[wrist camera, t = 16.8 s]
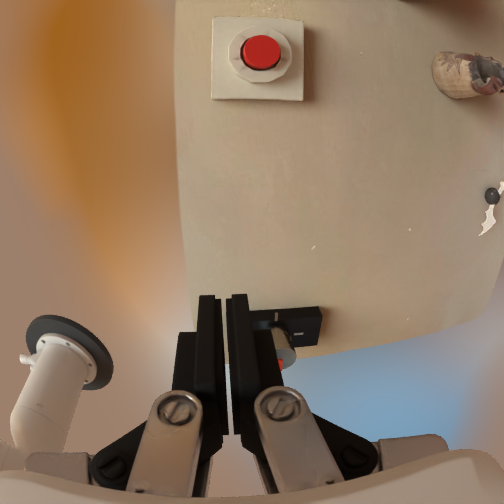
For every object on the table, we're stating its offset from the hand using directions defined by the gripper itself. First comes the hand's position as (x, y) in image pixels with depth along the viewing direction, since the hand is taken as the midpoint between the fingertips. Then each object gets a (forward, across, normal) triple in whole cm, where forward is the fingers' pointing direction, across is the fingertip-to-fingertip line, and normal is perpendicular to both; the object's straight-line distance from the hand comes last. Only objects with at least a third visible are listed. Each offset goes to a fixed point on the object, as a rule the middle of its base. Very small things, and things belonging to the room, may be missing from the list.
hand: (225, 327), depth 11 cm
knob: (+25, -7, +23) cm, 34 cm away
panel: (+27, -7, +23) cm, 36 cm away
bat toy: (+27, -45, +1) cm, 52 cm away
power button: (+24, -4, -14) cm, 28 cm away
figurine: (+27, -32, -17) cm, 45 cm away
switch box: (+27, -4, -14) cm, 31 cm away
